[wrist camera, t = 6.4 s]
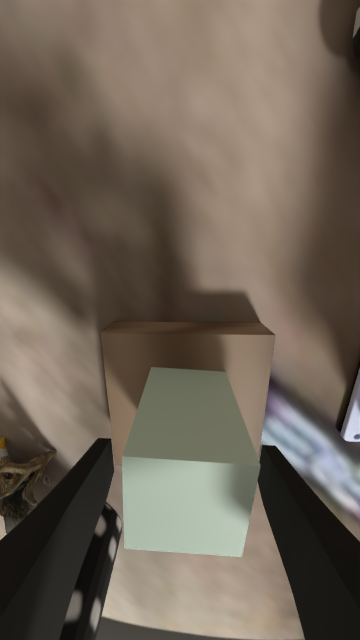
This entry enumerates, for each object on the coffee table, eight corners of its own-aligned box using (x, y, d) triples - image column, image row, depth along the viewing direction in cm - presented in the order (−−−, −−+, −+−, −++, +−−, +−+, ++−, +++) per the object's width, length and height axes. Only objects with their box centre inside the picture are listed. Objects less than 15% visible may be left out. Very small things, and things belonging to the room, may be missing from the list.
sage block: (225, 371, 12) (260, 465, 7) (218, 432, 14) (241, 556, 8) (151, 367, 13) (121, 456, 7) (149, 428, 14) (124, 548, 8)
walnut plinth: (257, 320, 15) (275, 335, 12) (245, 434, 17) (256, 469, 15) (116, 318, 15) (100, 333, 12) (126, 431, 18) (115, 465, 15)
